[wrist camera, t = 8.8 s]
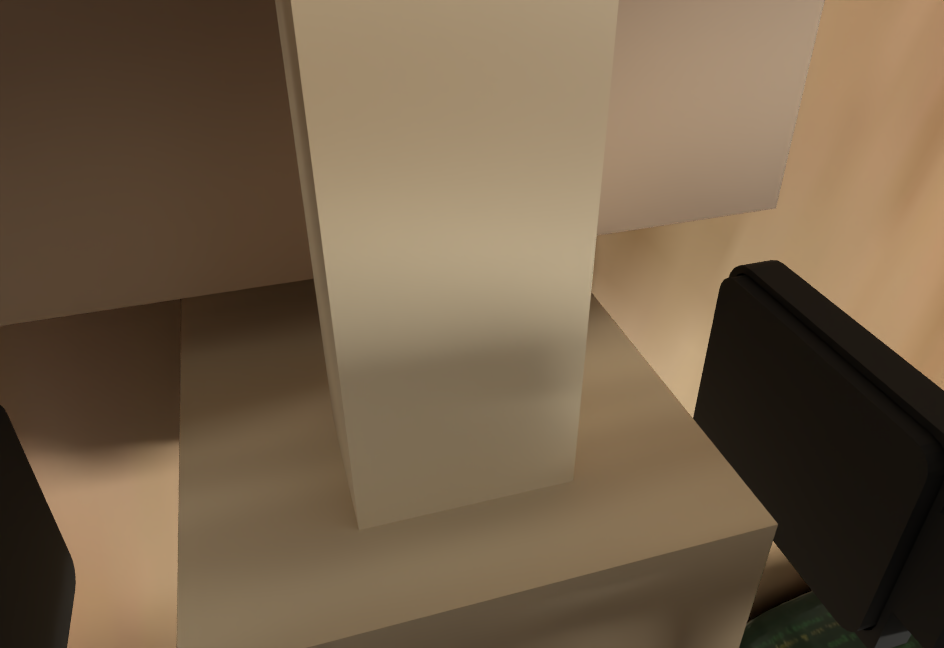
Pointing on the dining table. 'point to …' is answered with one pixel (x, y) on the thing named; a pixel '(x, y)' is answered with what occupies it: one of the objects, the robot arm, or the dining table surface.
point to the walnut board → (273, 147)
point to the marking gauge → (448, 370)
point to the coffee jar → (802, 628)
